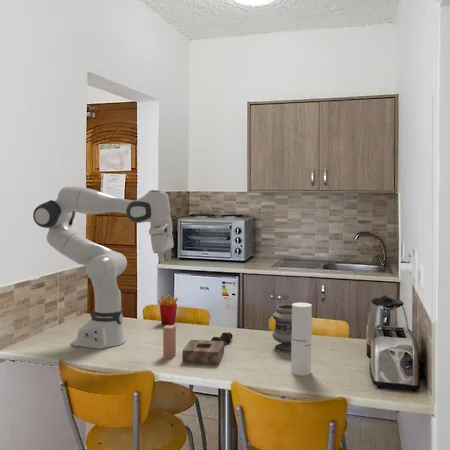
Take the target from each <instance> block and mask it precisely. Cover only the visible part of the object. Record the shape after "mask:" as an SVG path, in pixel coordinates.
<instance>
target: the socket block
mask: <svg viewBox="0 0 450 450" xmlns="http://www.w3.org/2000/svg"><path fill="white" fill-rule="evenodd" d="M224 354H225V343H224V341H211V340H208V339H207V340H202V339H190V340H189V341H188V343H186V345H185V347H184V348H183V349H182V357H181V358H182V364H191V365H206V366H207V365H208V366H210V365H211V366H219V365H220V362H221V360H222V359H223V356H224Z"/></svg>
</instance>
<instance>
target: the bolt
mask: <svg viewBox="0 0 450 450" xmlns="http://www.w3.org/2000/svg"><path fill="white" fill-rule="evenodd" d="M232 339H233V333H231V332H222V334H221V335H220V336H213V337H212V338H211V339H210V341H224V344H229V343H230V342H231V341H232Z"/></svg>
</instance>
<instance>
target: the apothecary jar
mask: <svg viewBox="0 0 450 450" xmlns="http://www.w3.org/2000/svg"><path fill="white" fill-rule="evenodd" d="M272 318H273V320H275V327H274V328H275V329H274V330H273V331H272V338H273V339H274V340H275V341H276V342H278V344H276V345H275V346H274V349H275V350H276V351H280V352H284V353H291V339H292V304H290V303H288V304H285V303H283V304H278V305H277V306H276V309H275V310H274V312H273V314H272Z"/></svg>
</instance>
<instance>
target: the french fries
mask: <svg viewBox="0 0 450 450" xmlns="http://www.w3.org/2000/svg"><path fill="white" fill-rule="evenodd" d="M160 298H161V300H160V299H158V300H157V301H158V303H159V312H160V320H161V321H160V322H161V325H162V326H163V325H164V326H166V325H173V326H174V325H175V324H176V318H177V309H178V304H177V301H178V300H179V297H176V296H175V295H174V296H171V295H170V294H168V295H166V296H165V297H164V294H161V297H160ZM169 299H170V301H169Z"/></svg>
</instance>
